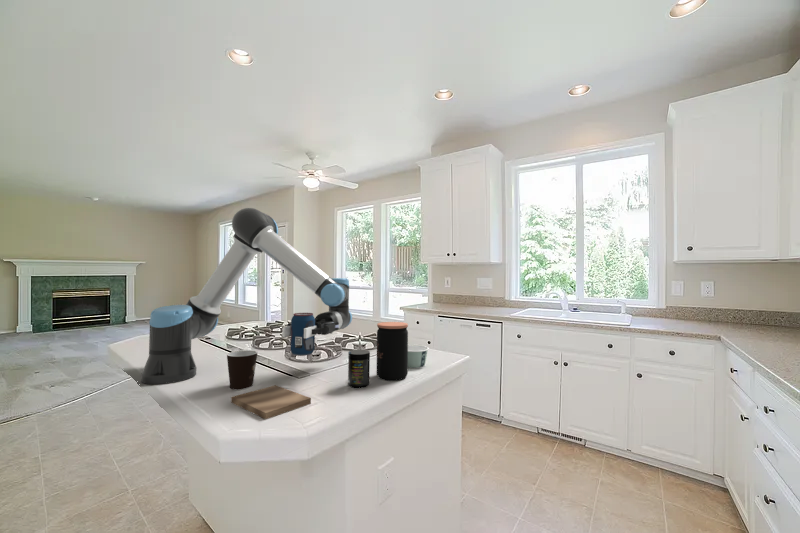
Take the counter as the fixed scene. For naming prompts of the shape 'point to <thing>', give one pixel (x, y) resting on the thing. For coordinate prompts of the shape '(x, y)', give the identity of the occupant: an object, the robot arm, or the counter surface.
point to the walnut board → (270, 401)
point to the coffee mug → (241, 368)
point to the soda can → (302, 334)
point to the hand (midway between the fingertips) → (294, 333)
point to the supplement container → (358, 368)
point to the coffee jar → (392, 350)
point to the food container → (417, 355)
